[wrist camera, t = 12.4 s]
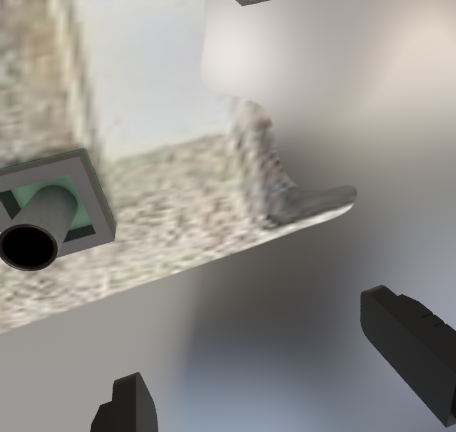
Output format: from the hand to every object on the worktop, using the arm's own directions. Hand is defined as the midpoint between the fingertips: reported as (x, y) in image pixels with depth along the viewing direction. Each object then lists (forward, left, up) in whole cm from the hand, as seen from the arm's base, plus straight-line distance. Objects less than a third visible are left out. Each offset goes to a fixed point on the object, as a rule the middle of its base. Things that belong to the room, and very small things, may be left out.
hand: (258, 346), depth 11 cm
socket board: (+2, -14, -30) cm, 33 cm away
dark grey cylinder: (+2, -14, -29) cm, 33 cm away
